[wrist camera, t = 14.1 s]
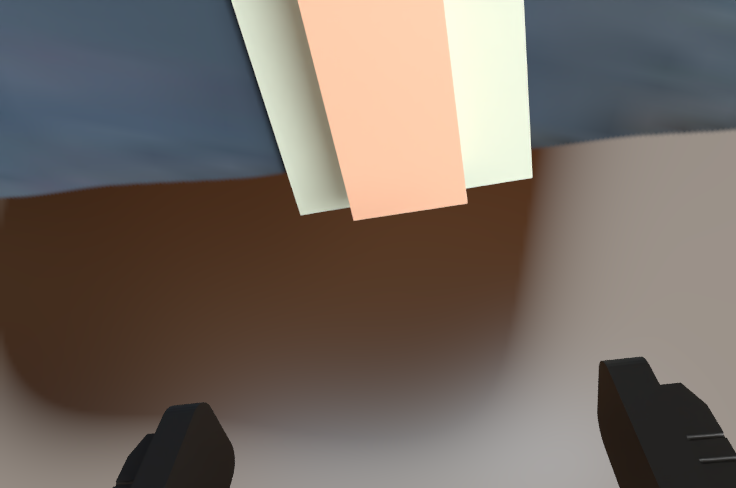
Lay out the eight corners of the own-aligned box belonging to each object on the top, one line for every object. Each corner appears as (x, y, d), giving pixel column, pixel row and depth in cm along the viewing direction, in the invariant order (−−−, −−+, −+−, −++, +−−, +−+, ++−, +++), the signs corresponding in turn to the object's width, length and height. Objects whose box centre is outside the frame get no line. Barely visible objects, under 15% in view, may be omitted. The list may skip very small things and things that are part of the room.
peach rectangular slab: (286, -127, 20) (263, -132, 17) (418, -162, 19) (422, -174, 16) (359, 180, 27) (353, 220, 23) (458, 164, 26) (467, 203, 23)
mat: (187, -151, 20) (181, -153, 20) (508, -243, 18) (511, -247, 18) (302, 209, 28) (300, 215, 28) (530, 172, 27) (532, 177, 26)
